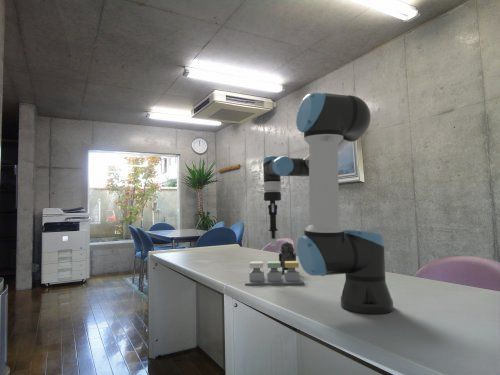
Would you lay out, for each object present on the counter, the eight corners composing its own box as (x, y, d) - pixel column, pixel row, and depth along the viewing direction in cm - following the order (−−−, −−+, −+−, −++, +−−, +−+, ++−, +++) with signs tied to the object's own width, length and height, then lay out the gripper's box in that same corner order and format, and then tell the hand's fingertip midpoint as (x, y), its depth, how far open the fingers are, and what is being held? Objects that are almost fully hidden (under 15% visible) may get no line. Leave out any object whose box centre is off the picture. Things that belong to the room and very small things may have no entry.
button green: (280, 272, 141) (280, 261, 141) (280, 275, 135) (280, 263, 136) (267, 272, 141) (267, 261, 141) (267, 275, 135) (267, 263, 136)
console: (300, 277, 145) (300, 268, 145) (304, 285, 129) (304, 274, 129) (247, 277, 146) (247, 268, 147) (245, 285, 131) (245, 275, 131)
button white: (263, 272, 141) (263, 261, 141) (263, 275, 136) (262, 263, 136) (250, 272, 141) (250, 261, 142) (250, 275, 136) (249, 263, 136)
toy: (277, 274, 153) (277, 242, 155) (280, 271, 159) (279, 241, 160) (295, 274, 151) (294, 242, 152) (297, 272, 156) (296, 241, 158)
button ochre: (297, 272, 140) (297, 260, 141) (298, 274, 135) (298, 262, 135) (285, 272, 140) (284, 261, 141) (285, 275, 135) (285, 263, 135)
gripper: (264, 192, 148) (265, 244, 146) (263, 191, 135) (264, 247, 133) (280, 192, 147) (281, 244, 146) (281, 190, 134) (282, 247, 133)
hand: (273, 246), depth 139 cm, fingers closed
